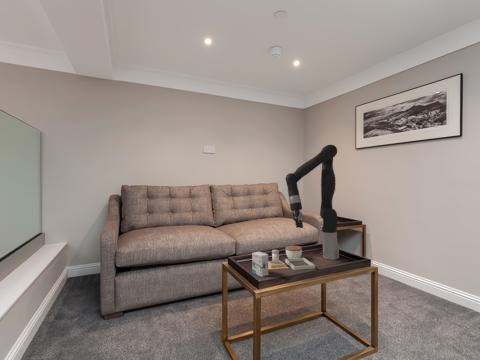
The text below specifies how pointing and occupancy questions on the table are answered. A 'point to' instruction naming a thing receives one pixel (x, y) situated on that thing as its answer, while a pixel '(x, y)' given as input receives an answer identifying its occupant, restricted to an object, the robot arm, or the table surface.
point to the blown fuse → (275, 256)
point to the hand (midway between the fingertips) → (299, 227)
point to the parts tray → (309, 266)
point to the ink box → (260, 263)
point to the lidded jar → (293, 251)
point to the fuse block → (276, 265)
